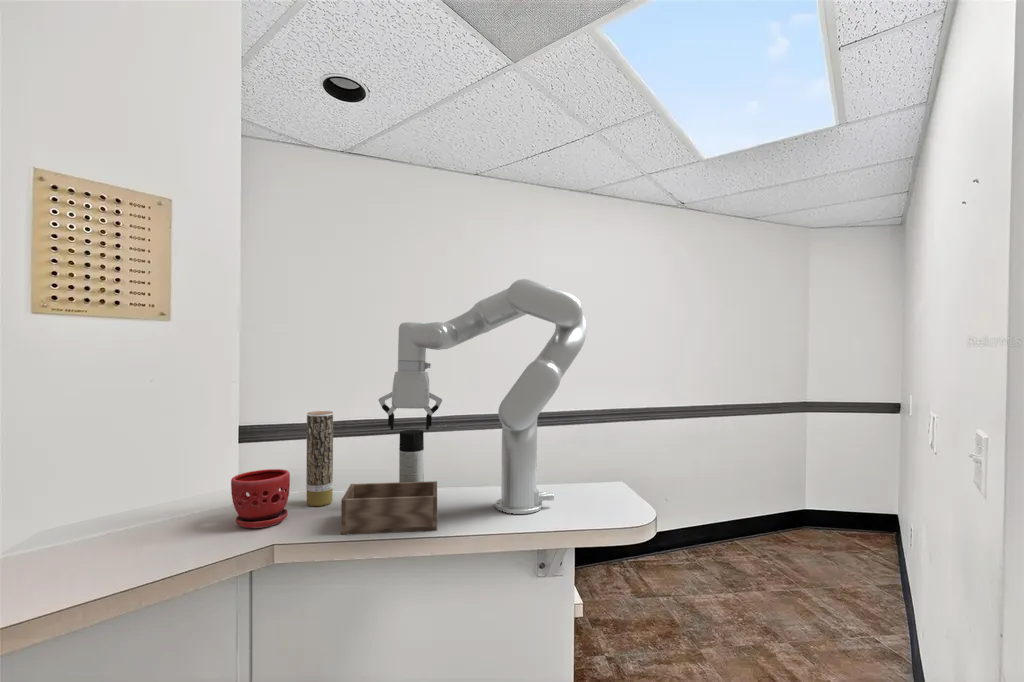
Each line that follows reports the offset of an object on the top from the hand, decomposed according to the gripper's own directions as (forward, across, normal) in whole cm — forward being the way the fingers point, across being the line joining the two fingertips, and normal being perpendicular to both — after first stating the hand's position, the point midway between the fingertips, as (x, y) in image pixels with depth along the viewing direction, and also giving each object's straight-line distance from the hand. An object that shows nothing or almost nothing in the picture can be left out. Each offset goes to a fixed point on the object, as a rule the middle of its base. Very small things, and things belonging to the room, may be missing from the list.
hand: (409, 428), depth 147 cm
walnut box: (+21, +3, +15) cm, 26 cm away
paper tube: (+21, +24, -3) cm, 32 cm away
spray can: (+21, -1, 0) cm, 21 cm away
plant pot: (+22, +35, +11) cm, 43 cm away
